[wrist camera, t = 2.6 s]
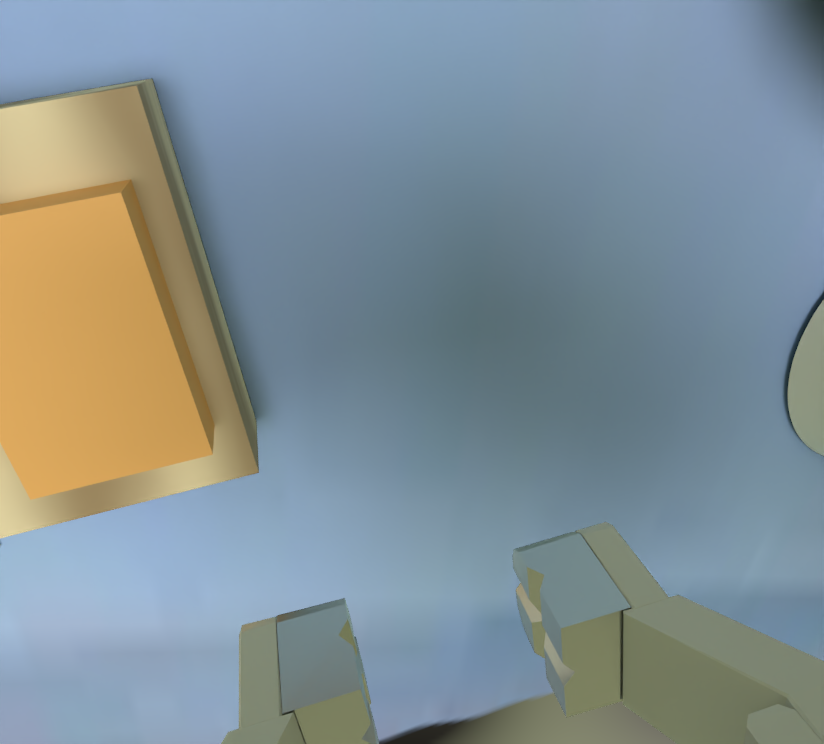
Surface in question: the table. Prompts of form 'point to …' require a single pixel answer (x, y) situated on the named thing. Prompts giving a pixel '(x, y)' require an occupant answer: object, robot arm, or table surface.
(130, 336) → the orange tile
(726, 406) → the table surface
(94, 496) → the cylinder
